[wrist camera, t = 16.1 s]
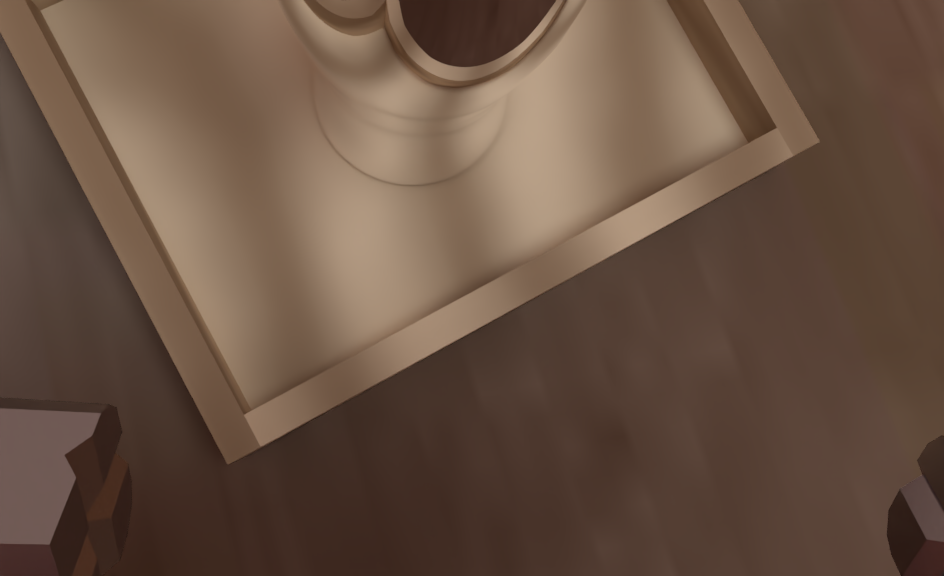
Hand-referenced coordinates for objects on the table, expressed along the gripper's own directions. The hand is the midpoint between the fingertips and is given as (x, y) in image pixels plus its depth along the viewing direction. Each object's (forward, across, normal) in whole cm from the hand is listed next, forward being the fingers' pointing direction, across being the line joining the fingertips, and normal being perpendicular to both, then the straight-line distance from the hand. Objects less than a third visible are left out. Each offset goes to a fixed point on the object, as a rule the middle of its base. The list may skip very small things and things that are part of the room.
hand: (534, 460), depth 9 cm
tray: (+21, +1, +6) cm, 22 cm away
